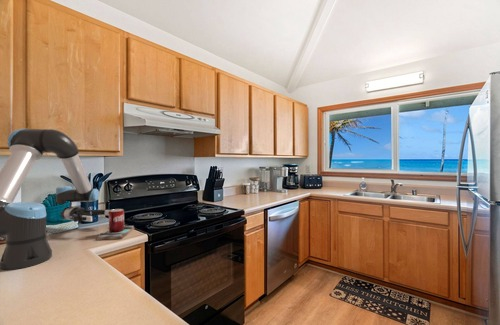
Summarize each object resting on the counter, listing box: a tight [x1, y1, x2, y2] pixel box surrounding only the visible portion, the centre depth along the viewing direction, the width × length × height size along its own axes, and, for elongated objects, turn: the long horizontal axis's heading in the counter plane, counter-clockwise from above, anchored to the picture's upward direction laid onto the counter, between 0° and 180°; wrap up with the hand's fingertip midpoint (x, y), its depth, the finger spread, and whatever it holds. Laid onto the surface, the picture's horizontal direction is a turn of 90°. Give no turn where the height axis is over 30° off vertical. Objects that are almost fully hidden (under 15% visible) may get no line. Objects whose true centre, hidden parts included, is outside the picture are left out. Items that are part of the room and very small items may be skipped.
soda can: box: [108, 208, 125, 233], centre depth 126 cm, size 7×7×12 cm
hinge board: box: [96, 225, 135, 241], centre depth 126 cm, size 12×18×3 cm, turn 8°
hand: (103, 216), depth 129 cm, fingers open, 13 cm apart
